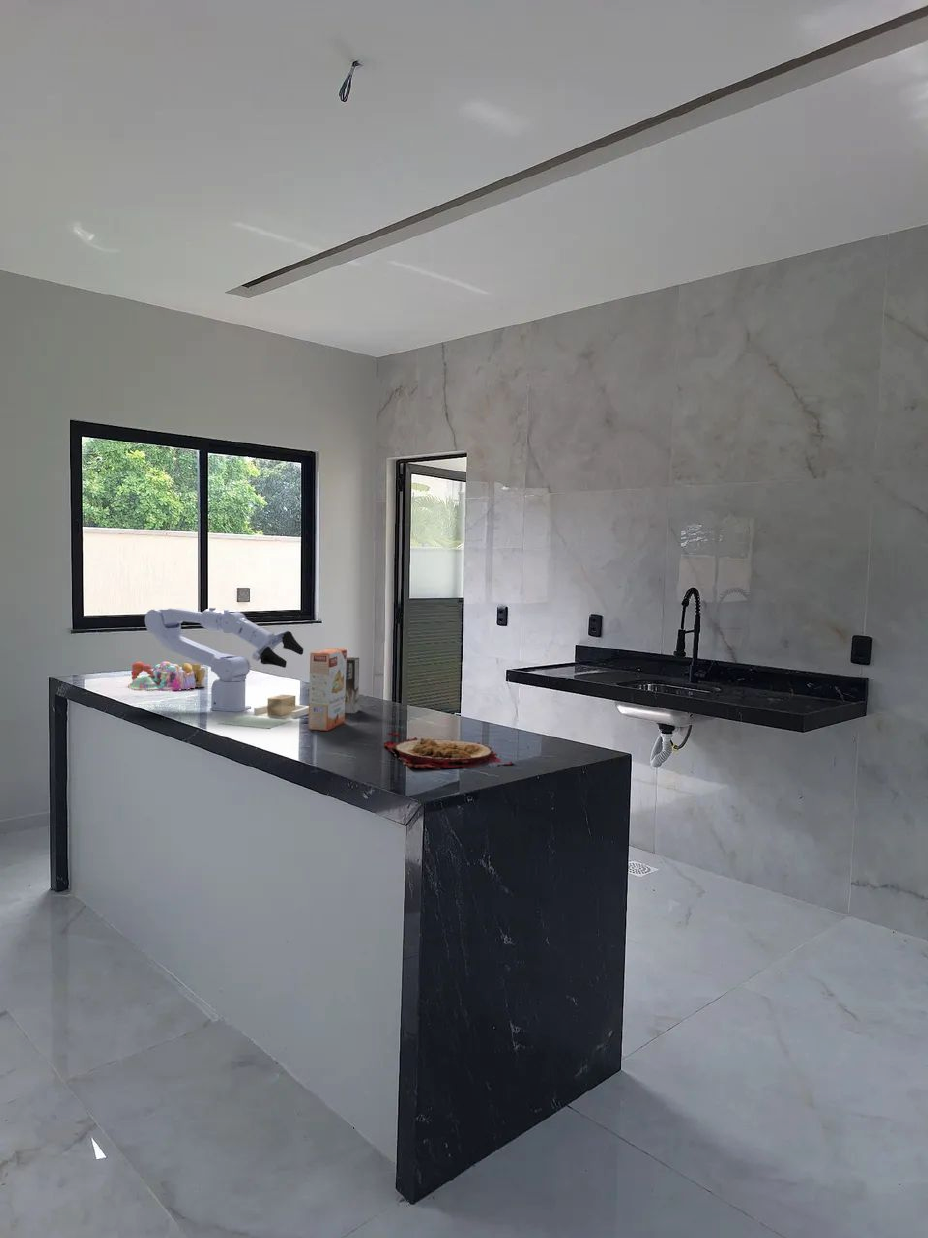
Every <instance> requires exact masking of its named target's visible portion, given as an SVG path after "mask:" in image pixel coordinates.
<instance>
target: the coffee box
mask: <svg viewBox="0 0 928 1238" xmlns="http://www.w3.org/2000/svg"><path fill="white" fill-rule="evenodd" d="M359 701H360V657H350V656H347V664H346V693H345V714H356V713H357V712H358V711H360V709H359V708H360V703H359Z"/></svg>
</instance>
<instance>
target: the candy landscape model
mask: <svg viewBox="0 0 928 1238" xmlns="http://www.w3.org/2000/svg"><path fill="white" fill-rule="evenodd" d="M151 668H152V667H151V666H150V665H149V664H144V663H143V662H142V661H135V662H134V663H133V664H132V665H131V669H132V670H131V676H132V677H131V680H132V681H131V683H129V684H128V687H129V688H131V689H130V690H133V689H134V690H135V691H141V690H147V691H146V692H149V691H148V690H157V691H164V690H177V691H180V690H179V689H186V690H188V688H189V689H190V688H194V689H196V688H195V687H198V688H203V687H205V686H206V684H203V680H204V678H205V674H206V673H205V672H206V669H204V668H202V664H201V663H196V664H195V663H192V665H191V664H190V663H188V662H183V663H182V665H181V670H180V665H178V664H177V663H172V662H170V661H162V662H160V663H158V664H156V665H155V666H154V669H153V670H152V669H151ZM143 672H145V673H146V674H147V675H143V676H140V674H142V673H143ZM139 676H140V677H139ZM134 690H133V691H134ZM190 690H191V689H190Z"/></svg>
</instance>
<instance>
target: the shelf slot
mask: <svg viewBox="0 0 928 1238" xmlns="http://www.w3.org/2000/svg"><path fill="white" fill-rule="evenodd" d="M267 707H268V703H267V704H265V705H264V704H263V705H261V706H257V707H254V708H253V716H262V717H268V716H267ZM306 715H309V705H299V704H295V711H291V714H289V715H286V716H283V717H280V718H282V719H283V718H285V719H292V720H293V719H297V718H300V717H304V716H306ZM270 717H271V718H272V717H273V718H278V717H277V716H269V718H270Z"/></svg>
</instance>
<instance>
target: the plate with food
mask: <svg viewBox="0 0 928 1238" xmlns="http://www.w3.org/2000/svg"><path fill="white" fill-rule="evenodd" d="M389 735H390V736H393V737H395V739H397V738H398V737H403V735H402V734H401V733H400V734H399V733H392V732H391V733H389V732H388V733H387V736H389ZM399 739H400V740H401V738H399ZM403 740H404V741H399V742H397V743H396V742H395V741H394V740H390V741H388V740H387V741H386V742H385V741H382V745H384V746H383V747H384V748H387V752H389V753H393V754H394V756H395V757H398V755H397V754H396V752H398V753H399V757H398V760H399V761H401V762H402V764H403V765H405V766H406V765H407V766H408V767H409V768H416V769H423V770H424V769H427V768H432V769H434V770H436V769H437V770H439V769H442V768H446V769H447V768H449V769H451V768H452V769H453V768H461V769H466V767H467V768H476V767H477V766H478V765H481V764H482V765H485V764H489V763H490V764H491V763H492V765H491V767H493V765H494V764H495V763H496V764H497V763H498V764H497V765H496V766H497V767H498V766H499V763H502V761H501V759H500V758H502V755H499V757H500V758H498V754H497V753H495V752H494V751H493V750H492V747H490V746H486V745H485V744H481V743H480V742H472V741H467V740H465V741H463V740H459V739H457V740H456V739H455V740H454V739H441V738H438V739H437V738H433V739H432V738H430V737H425V738H423V737H421V738H420V739H418V737H417V736H415V737H413V738H403ZM488 761H489V762H488ZM493 763H494V764H493ZM413 764H414V765H413ZM514 764H515V762H512V761H511V760H510V761H509V763H504V764H503V763H502V764H501V766H504V765H505V766H510V765H514ZM488 767H490V765H488Z"/></svg>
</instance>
